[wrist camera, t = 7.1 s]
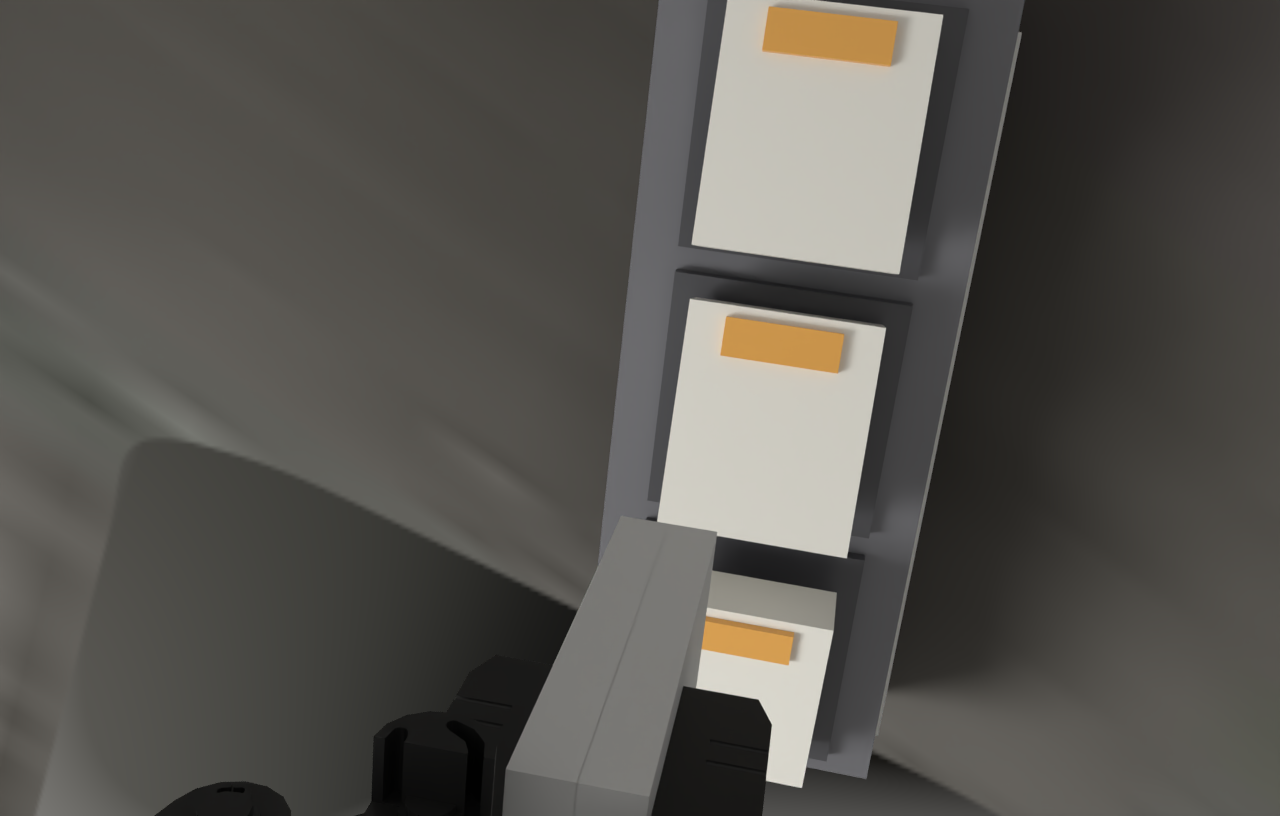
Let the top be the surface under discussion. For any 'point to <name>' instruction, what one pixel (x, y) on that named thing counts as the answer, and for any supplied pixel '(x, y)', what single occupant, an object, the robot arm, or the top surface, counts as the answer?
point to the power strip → (904, 303)
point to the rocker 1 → (816, 131)
